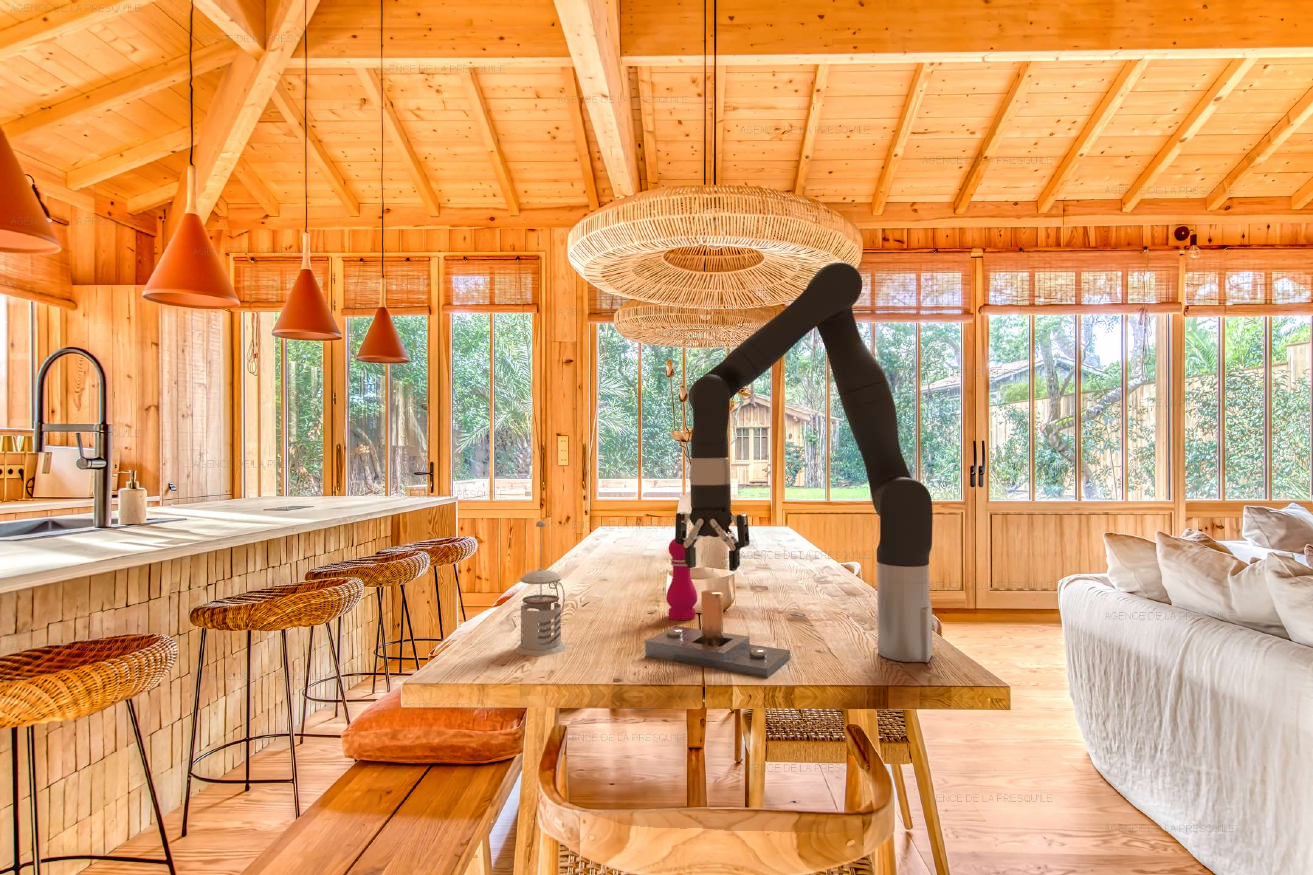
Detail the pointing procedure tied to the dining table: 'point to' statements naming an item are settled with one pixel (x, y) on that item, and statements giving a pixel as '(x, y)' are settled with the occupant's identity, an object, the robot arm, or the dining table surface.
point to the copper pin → (712, 617)
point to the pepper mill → (680, 586)
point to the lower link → (744, 661)
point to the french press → (541, 614)
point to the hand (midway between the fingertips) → (712, 568)
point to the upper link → (692, 645)
